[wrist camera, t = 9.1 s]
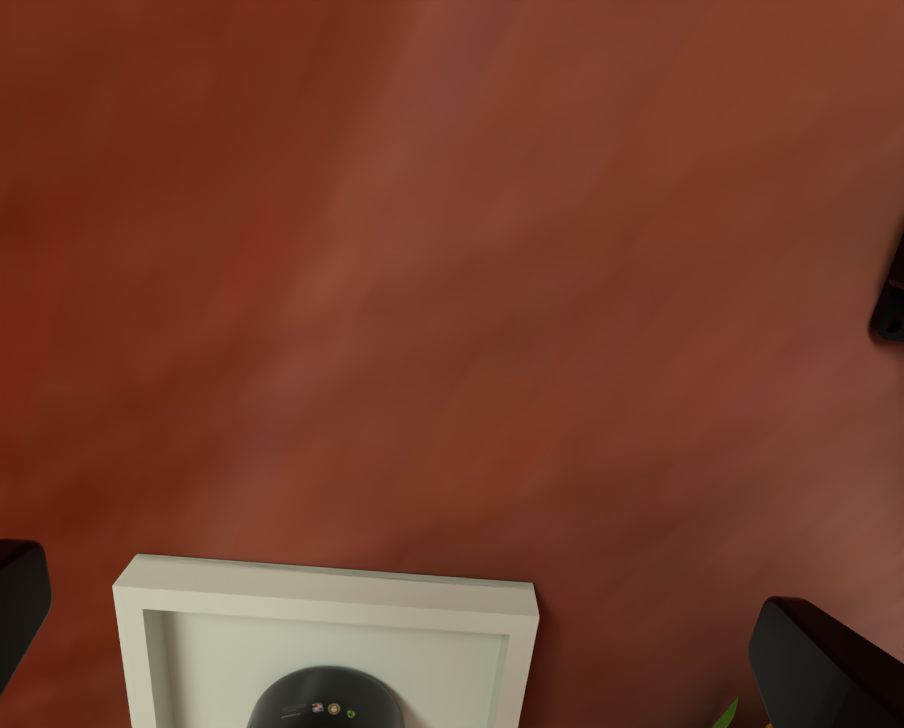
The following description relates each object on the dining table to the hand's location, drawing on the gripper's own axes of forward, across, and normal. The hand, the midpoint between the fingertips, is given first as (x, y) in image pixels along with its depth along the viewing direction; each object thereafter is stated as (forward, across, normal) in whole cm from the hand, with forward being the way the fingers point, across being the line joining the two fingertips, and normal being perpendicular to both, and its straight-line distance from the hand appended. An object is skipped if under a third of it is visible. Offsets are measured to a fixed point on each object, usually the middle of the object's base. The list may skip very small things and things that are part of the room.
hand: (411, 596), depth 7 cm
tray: (+13, +3, +19) cm, 23 cm away
